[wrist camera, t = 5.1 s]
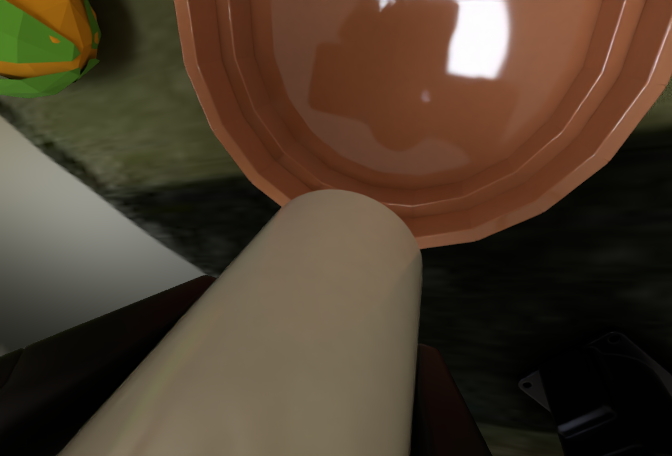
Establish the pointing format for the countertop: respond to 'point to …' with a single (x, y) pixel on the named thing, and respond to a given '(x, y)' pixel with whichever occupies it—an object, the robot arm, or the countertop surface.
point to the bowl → (427, 98)
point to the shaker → (284, 347)
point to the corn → (45, 45)
